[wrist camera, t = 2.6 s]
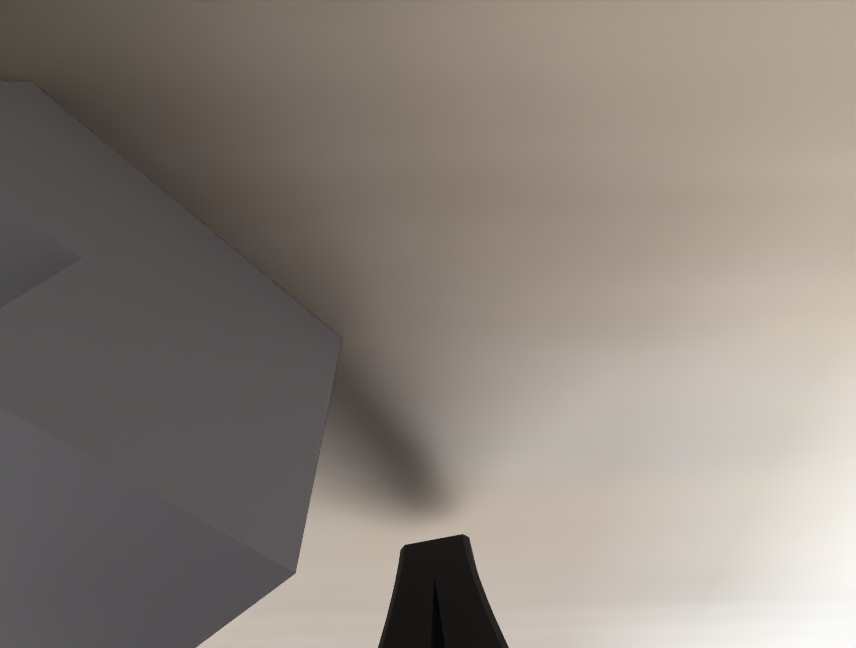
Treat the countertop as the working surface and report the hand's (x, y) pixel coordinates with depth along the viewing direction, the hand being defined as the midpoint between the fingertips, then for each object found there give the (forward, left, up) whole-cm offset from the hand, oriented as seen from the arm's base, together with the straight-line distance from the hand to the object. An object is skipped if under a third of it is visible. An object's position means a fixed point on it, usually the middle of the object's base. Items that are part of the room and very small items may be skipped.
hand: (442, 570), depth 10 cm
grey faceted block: (+5, -6, -2) cm, 8 cm away
